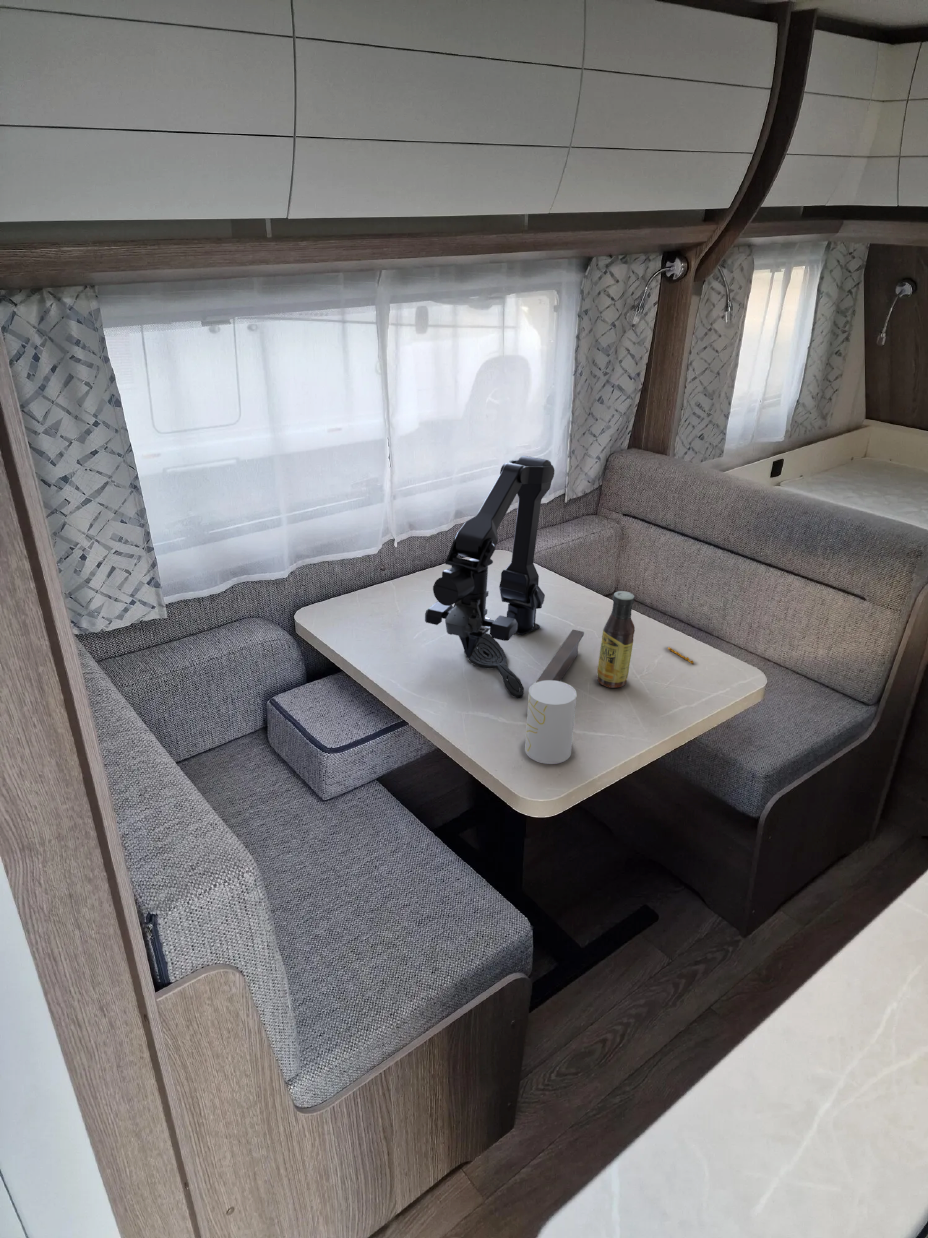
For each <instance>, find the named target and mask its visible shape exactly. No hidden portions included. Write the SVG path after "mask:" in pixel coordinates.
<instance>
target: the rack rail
mask: <svg viewBox="0 0 928 1238" xmlns="http://www.w3.org/2000/svg"><path fill="white" fill-rule="evenodd" d="M584 636H585V631H583V630H577V629H572V630H571V631H570V633H569V634H568V635H567V637H566V638H565V640H564V641H563V643H562V644H561V646H560V647H559V648H558V649H557V651H556V652H555V654H554V655H553V657H552V659H551V660H550V661H549V663H548V664H547V665H546V666H545V668H544V669H543V671H542V673H541V674H540V675H539V677H538V678H537V680H536V681H535V683H537V682H540V681H545V680H554V681H560V682H562V679H563V678H564V677H565V675H566V673H567V672H568V670H569V668H570V667H571V665H572V664H573V663H574V661H575V659H576V658H577V657H578V652H579V644H580V642H581V640H582V639H583V637H584Z"/></svg>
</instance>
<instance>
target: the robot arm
mask: <svg viewBox="0 0 928 1238" xmlns="http://www.w3.org/2000/svg"><path fill="white" fill-rule="evenodd" d="M555 472H556V471H555V467H554V465H553V464H552V462H551V461H550V459H545V458H539V457H533V456H528V455H521V456H520V457H519V458H518V459H512V460H509V462H506V463H505V462H504V464H502V466H501V468H500V471H499V476H498V477H497V479H496V481H495V483H494V485H493V486H492V488H491V490H490V491H489V493H488V495H487V497H486V498H485V500H484V501H483V503H482V505H481V507H480V509H479V510H478V512H477V514H476V515H475V516H473V517H471V518H469V519H468V520H466V521H465V522H464V523H463V525H462V526H461V527H460V529H459V530H458V532H457V533H456V534H455V536H454V538H453V541H452V544H451V546H450V549H449V551H448V554H447V557H446V559H445V562H444V564H445V565H447V566H450V567H449V568H448V569H444V570H443V571H442V572H441V576H440V577H438V578H437V579H436V580H435V581H434V583H433V586H432V593H433V596H434V597H435V599H436V602H434V603H433V604H432V605H431V606H430V607H429V608H428V609H426V611H425V613H424V622H425V623H427V624H431V625H434V626H435V625H436V626H438V625H440V624H441V623H442V622H443V619H444V621H445V628H446V629H445V630H446V633H447V634H448V635H450V636H452V635H454V636H457V637H459V640H460V642H461V645H462V647H463V652H464V651H465V653H464V654H465V657H466V658H467V659H468V658H470V657H471V655H472V653H473V651H474V649H475V647H476V645H477V643H478V641H479V639H480V638H481V637H483V636H484V635H485V634H486V633H487V634H488V633H489V634H490V635H491V636H492V637H493V638H494V639H495V640H500V641H504V642H507V641H509V640H510V639H512V637H513V636H515V634H518V635H521V636H523V635H526V634H528V633H531V632H533V631H535V630H538V629H541V625H540V624H538V623H537V622H536V620H537V619H536V617H537V610H539V609H542V607H543V604H544V602H545V598H546V595H545V593H544V592H543V590H542V589H541V587H540V586H539V579H540V576H539V575H540V574H539V573H538V571H537V569H536V568H537V567H536V566H535V565H534V561H535V553H536V543H537V538H538V537H537V536H538V528H539V521H540V513H541V504H542V499H544V497H545V495H546V494H547V493H548V492H549V491H550V489H551V486H552V481H553V479H554V477H555ZM516 496H517V497H518V503H517V512H516V521H515V527H514V536H513V544H512V553H511V562H510V563H509V564H508V566H507V567H506V568H505V569H502V571H501V572H500V582H499V585H498V588H499V593H500V599H501V602H502V603H507V611H506V616H504V615H498V616H497V618H495V619H491V618H490V617H487V616H486V615H488V609H487V607H486V606H487V598H488V597H489V590H487V589H488V576H489V575H488V573H489V566H490V565H493V564H494V560H493V559H491V558H492V557H493V555H494V553H495V551H496V547H497V544H498V542H499V536H498V530H499V527H500V525H501V523H502V521H503V520H504V518H505V516H506V514H507V512H508V511H509V509H510V508H511V506H512V503H513V502H514V500H515V498H516ZM458 555H459V556H462V557H459V556H458ZM463 557H465V558H463ZM467 558H469V559H467Z"/></svg>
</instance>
